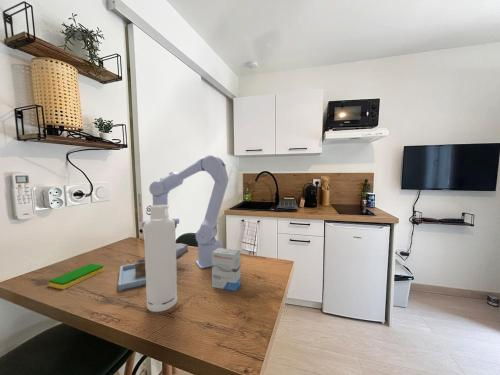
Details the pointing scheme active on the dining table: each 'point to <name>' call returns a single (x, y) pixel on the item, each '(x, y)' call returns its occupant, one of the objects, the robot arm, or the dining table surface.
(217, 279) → the ink box
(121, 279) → the tray
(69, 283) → the dish sponge
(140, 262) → the walnut block
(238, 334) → the dining table surface
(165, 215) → the bottle
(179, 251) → the stone block
